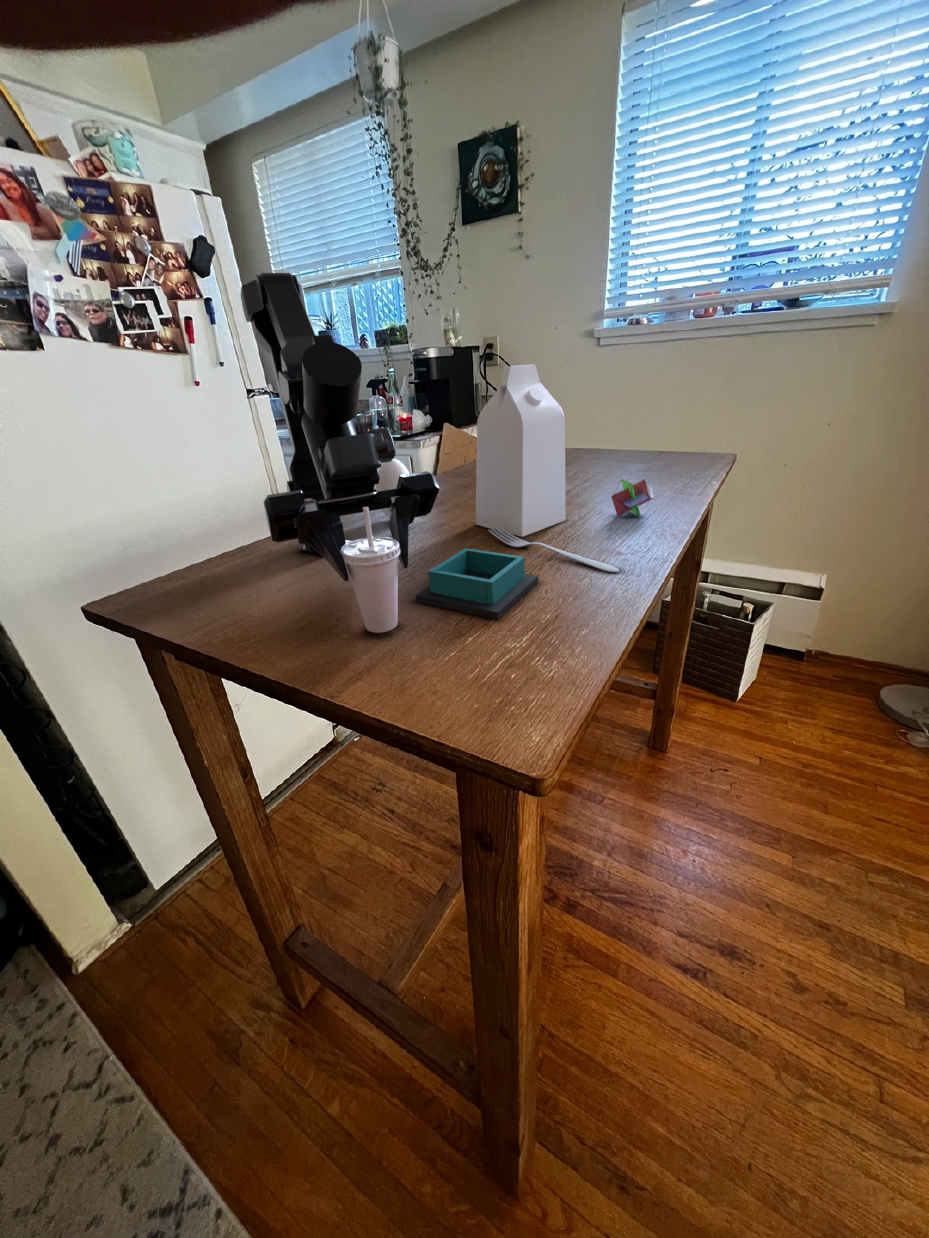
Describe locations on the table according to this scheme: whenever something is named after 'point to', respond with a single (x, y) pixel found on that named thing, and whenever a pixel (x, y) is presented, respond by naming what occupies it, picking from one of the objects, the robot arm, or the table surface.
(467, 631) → the table surface
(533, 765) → the table surface
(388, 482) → the egg
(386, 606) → the smoothie
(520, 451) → the milk
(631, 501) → the geometric puzzle
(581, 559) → the fork
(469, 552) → the dock pad
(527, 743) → the table surface
